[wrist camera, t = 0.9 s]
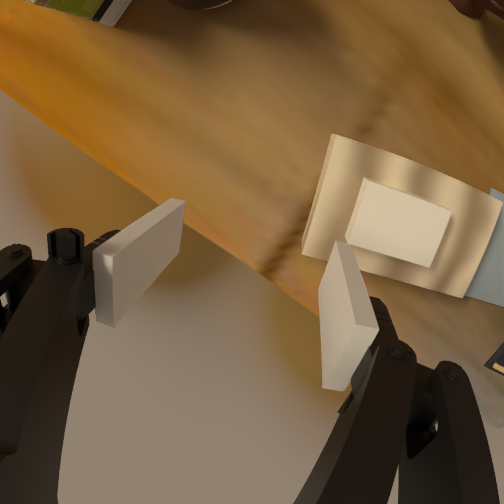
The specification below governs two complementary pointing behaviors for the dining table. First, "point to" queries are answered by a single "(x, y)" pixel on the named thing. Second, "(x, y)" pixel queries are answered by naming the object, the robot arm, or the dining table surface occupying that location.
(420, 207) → the cream rectangular block
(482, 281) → the mat
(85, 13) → the tea box
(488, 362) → the dark grey flat slab
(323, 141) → the dining table surface
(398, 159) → the riser
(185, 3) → the pump dispenser
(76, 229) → the robot arm
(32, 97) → the dining table surface
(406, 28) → the dining table surface
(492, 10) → the ice cream bowl
